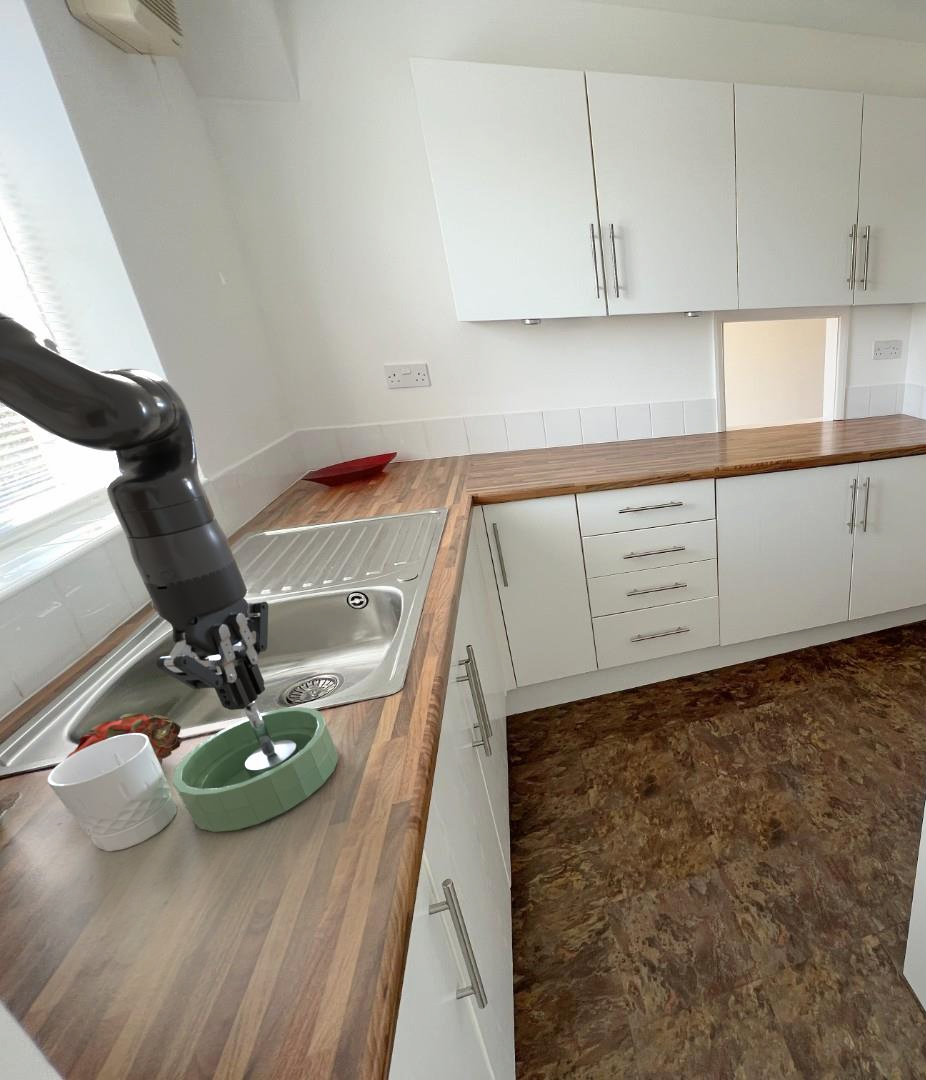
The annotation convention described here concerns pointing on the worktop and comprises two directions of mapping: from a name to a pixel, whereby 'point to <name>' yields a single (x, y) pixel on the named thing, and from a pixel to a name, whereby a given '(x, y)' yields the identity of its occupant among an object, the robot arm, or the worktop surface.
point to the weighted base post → (261, 732)
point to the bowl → (236, 800)
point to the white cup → (115, 791)
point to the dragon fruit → (153, 727)
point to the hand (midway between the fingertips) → (246, 699)
